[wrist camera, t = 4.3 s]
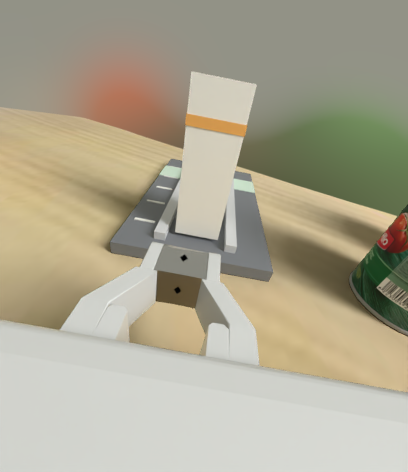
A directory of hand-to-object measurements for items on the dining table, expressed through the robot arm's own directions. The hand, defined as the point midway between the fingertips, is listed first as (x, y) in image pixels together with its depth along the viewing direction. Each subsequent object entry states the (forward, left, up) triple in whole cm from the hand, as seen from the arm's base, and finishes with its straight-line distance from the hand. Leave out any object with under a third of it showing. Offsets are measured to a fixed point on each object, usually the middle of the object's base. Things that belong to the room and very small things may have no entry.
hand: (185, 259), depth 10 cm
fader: (-4, +10, -5) cm, 12 cm away
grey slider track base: (-8, +17, -7) cm, 20 cm away
